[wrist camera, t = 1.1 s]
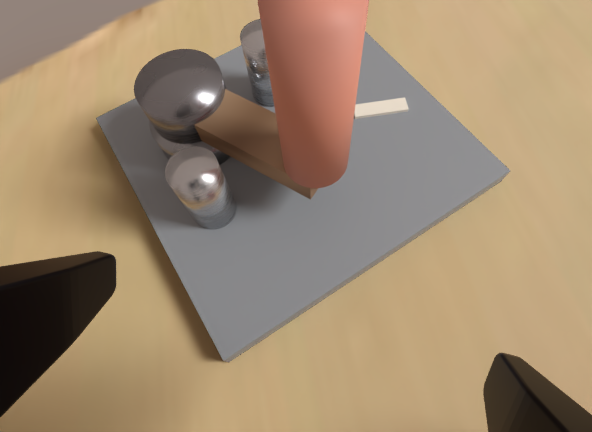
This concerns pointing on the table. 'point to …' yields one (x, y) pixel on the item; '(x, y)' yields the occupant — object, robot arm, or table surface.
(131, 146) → the crank base
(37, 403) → the table surface
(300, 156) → the crank
